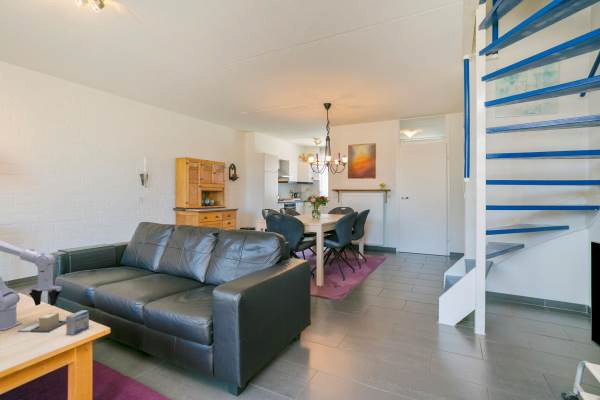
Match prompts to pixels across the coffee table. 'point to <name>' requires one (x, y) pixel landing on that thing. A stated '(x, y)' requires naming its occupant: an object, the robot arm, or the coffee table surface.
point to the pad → (29, 327)
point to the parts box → (49, 321)
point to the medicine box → (77, 322)
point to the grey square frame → (48, 329)
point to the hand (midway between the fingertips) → (45, 304)
